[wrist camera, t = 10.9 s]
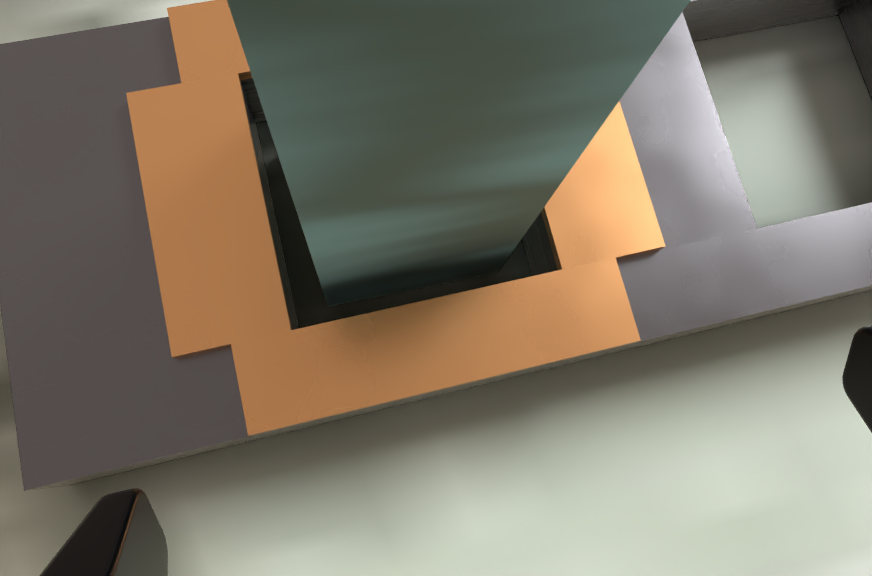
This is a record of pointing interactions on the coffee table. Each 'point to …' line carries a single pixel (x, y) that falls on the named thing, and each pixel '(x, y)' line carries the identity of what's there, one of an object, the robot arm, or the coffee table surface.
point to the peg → (434, 122)
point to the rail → (265, 265)
